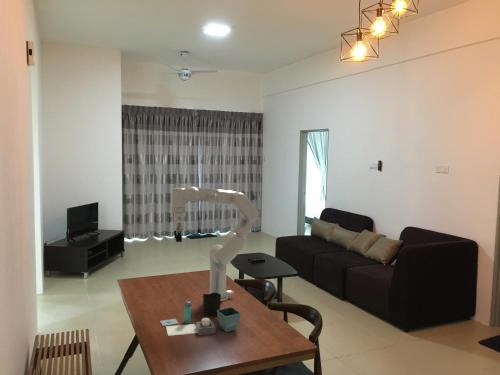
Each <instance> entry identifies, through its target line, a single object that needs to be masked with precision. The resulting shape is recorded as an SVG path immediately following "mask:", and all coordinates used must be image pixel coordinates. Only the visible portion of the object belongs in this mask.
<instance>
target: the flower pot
mask: <svg viewBox="0 0 500 375" xmlns="http://www.w3.org/2000/svg"><path fill="white" fill-rule="evenodd" d="M241 314H242V313H241V312H240V311H238V310H237V309H236V308H234V307H232V306H231V307H227V308H220V310H217V316H216V317H217V321H218V324H219V327H220V328H221V329H222V330H223V331H224V332H225V333H228V332H232V331H235V330H236V329H237V328H238V326H239V324H240V319H241Z"/></svg>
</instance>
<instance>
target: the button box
mask: <svg viewBox="0 0 500 375" xmlns="http://www.w3.org/2000/svg"><path fill="white" fill-rule="evenodd" d="M195 326H196V329H197V331H198V333H197V334H198V335H199V336H202V335H212V334H216V326H215V324H214V321H213V320H210V326H209V327H202V320H201V321H196V322H195Z"/></svg>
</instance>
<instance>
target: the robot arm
mask: <svg viewBox="0 0 500 375" xmlns="http://www.w3.org/2000/svg"><path fill="white" fill-rule="evenodd" d="M197 201H202V202H208V203H210V204H214V205H224V206H232V207H236V208H237V210H238V211H239V221H238V223H237V224H235V226H234V227H233V228H232V229H231V230H230V231H228V233H227V234H226V235H225V236H224V238H223V243H224V244H222V245H221V244H215V245H213V246H212V247H210V250H209V265H210V266H209V267H210V268H209V294H211V293H219V294H221V302H224V301H227V300H228V299H229V295H234V293H235V292H234V290H227V289H226V288H227V265H228V264H229V263H230V262H231V261H232V260H234V259H235V258H236V257H237V256H238V255H239V253H241V252H242V250H243V249H244V247H245V238H246V237H247V236H248V234H249V233H251V230H252V228H253V223H254V222H256V221H257V220H258V219H259V216H260V215H259V210H258V209H257V208H256V206H255V205H254V204H253V203H252V201H251V200H250V199H249V198H248V196H247V195H245V193H242V192H240V191H236V190H234V191H233V190H228V189H227V190H226V189H217V188H208V187H207V188H206V187H198V186H187V187H186V188H184V187H174V188H172V190H171V213H173V228H174V232H173V233H174V235H173V238H174V239H175V242H176V243H182V241H183V232H182V231H185V215H184V214H185V213H186V203H187V202H197Z"/></svg>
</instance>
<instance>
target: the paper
mask: <svg viewBox="0 0 500 375" xmlns="http://www.w3.org/2000/svg"><path fill="white" fill-rule="evenodd" d="M165 328H166V329H165V330H166V332H167V336H168V337H173V336H174V337H175V336H182V335H185V336H186V335H193V334H198V331H197V329H196V323H192V324H190V323H188V324H180V325H179V324H177V325H168V326H165Z"/></svg>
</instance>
